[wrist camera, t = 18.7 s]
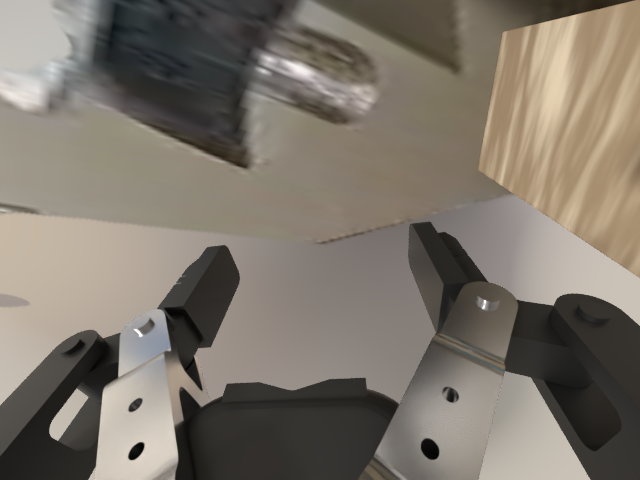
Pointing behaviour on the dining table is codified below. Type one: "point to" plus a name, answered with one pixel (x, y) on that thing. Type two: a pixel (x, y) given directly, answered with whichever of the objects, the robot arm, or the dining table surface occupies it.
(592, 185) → the notched wooden tower
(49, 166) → the dining table surface
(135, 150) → the dining table surface
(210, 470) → the robot arm
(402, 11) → the dining table surface
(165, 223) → the dining table surface
